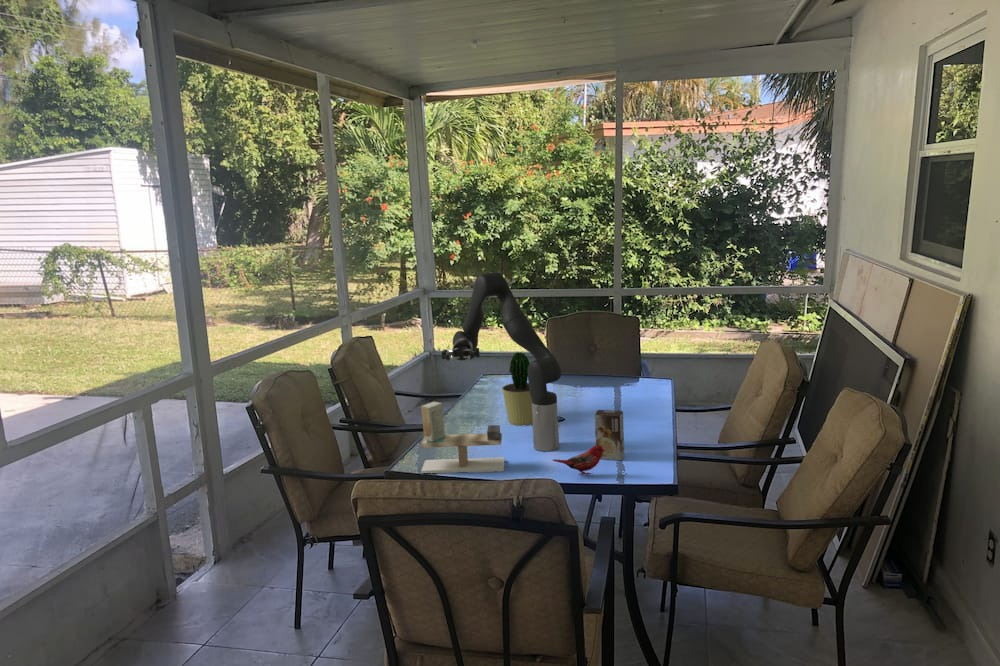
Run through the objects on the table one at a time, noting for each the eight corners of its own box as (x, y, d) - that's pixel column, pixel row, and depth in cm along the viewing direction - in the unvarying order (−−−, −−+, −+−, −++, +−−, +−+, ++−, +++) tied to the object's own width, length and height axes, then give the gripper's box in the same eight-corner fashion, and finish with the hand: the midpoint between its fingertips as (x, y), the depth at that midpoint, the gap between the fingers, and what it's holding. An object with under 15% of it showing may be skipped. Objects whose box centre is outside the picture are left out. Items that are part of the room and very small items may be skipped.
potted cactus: (496, 423, 279) (492, 352, 273) (520, 413, 290) (517, 345, 284) (524, 429, 268) (520, 356, 263) (548, 420, 279) (545, 349, 274)
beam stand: (504, 460, 236) (503, 437, 234) (503, 471, 226) (502, 447, 225) (425, 463, 237) (424, 440, 236) (421, 474, 227) (419, 450, 226)
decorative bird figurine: (607, 475, 218) (606, 445, 216) (553, 479, 217) (552, 450, 215) (605, 471, 221) (604, 442, 219) (552, 476, 220) (550, 447, 218)
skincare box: (436, 434, 234) (434, 400, 232) (445, 436, 231) (443, 402, 229) (423, 440, 229) (420, 405, 227) (431, 442, 227) (429, 407, 224)
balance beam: (501, 436, 233) (501, 424, 233) (501, 444, 226) (500, 432, 225) (424, 439, 235) (424, 427, 234) (421, 447, 227) (420, 435, 226)
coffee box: (625, 454, 236) (624, 410, 233) (621, 461, 230) (620, 416, 227) (599, 452, 239) (598, 409, 236) (595, 459, 233) (594, 414, 230)
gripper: (443, 340, 263) (439, 348, 247) (480, 338, 263) (478, 346, 247) (445, 359, 264) (441, 368, 248) (481, 357, 264) (479, 366, 248)
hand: (459, 357), depth 247 cm, fingers open, 8 cm apart
